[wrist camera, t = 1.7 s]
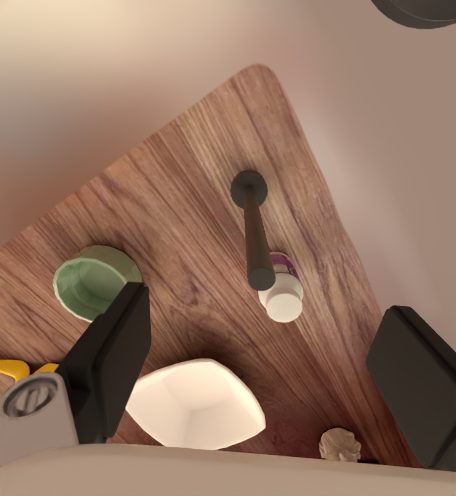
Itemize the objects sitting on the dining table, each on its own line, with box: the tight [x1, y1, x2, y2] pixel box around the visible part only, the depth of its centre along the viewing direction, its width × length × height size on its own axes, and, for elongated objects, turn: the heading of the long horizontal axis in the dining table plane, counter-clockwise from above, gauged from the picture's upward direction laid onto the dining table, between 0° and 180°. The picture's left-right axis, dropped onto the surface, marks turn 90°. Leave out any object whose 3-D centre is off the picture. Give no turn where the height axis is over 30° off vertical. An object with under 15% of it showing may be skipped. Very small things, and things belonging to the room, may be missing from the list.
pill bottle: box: [258, 252, 303, 322], centre depth 33 cm, size 5×5×10 cm
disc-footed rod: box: [231, 171, 276, 291], centre depth 23 cm, size 4×4×22 cm
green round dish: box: [53, 245, 142, 323], centre depth 37 cm, size 11×11×4 cm
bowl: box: [125, 358, 266, 450], centre depth 46 cm, size 22×22×5 cm
